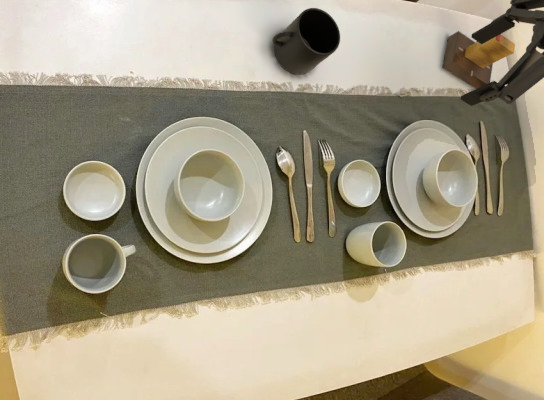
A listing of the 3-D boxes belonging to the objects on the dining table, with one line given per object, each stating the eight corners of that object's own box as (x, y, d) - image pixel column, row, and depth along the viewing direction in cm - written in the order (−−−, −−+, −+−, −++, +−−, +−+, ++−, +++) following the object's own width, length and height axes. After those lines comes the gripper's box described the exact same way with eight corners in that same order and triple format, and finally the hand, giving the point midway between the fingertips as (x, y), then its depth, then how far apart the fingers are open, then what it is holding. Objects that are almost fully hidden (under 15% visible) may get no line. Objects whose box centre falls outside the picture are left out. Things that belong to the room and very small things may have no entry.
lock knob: (483, 59, 114) (516, 43, 106) (482, 68, 113) (515, 52, 105) (465, 47, 112) (497, 30, 104) (464, 56, 111) (495, 39, 104)
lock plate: (483, 58, 118) (495, 52, 116) (478, 92, 115) (489, 87, 112) (448, 35, 115) (459, 28, 112) (441, 69, 112) (452, 63, 109)
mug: (260, 27, 94) (282, 1, 86) (311, 34, 98) (337, 11, 90) (264, 71, 92) (287, 50, 84) (316, 77, 97) (343, 57, 89)
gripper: (589, -76, 69) (466, 5, 88) (577, 64, 61) (445, 119, 81) (622, -48, 71) (494, 24, 90) (614, 90, 63) (477, 137, 83)
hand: (471, 69), depth 85 cm, fingers open, 13 cm apart
